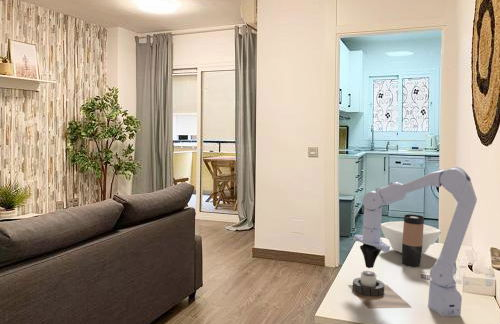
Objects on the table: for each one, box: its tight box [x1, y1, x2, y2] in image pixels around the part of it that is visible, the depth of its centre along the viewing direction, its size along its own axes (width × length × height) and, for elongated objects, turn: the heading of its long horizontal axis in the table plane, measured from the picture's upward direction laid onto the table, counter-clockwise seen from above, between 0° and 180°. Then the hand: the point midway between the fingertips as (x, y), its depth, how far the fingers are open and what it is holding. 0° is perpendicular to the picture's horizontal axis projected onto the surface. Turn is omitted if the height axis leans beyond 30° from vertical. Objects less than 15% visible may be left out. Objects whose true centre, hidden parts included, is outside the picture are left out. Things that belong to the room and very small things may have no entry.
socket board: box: [347, 276, 412, 309], centre depth 136 cm, size 18×14×4 cm
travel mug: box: [401, 214, 425, 268], centre depth 171 cm, size 8×8×20 cm
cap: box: [360, 270, 378, 287], centre depth 140 cm, size 5×5×6 cm
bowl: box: [381, 220, 442, 255], centre depth 188 cm, size 22×22×12 cm
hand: (369, 267), depth 140 cm, fingers closed
